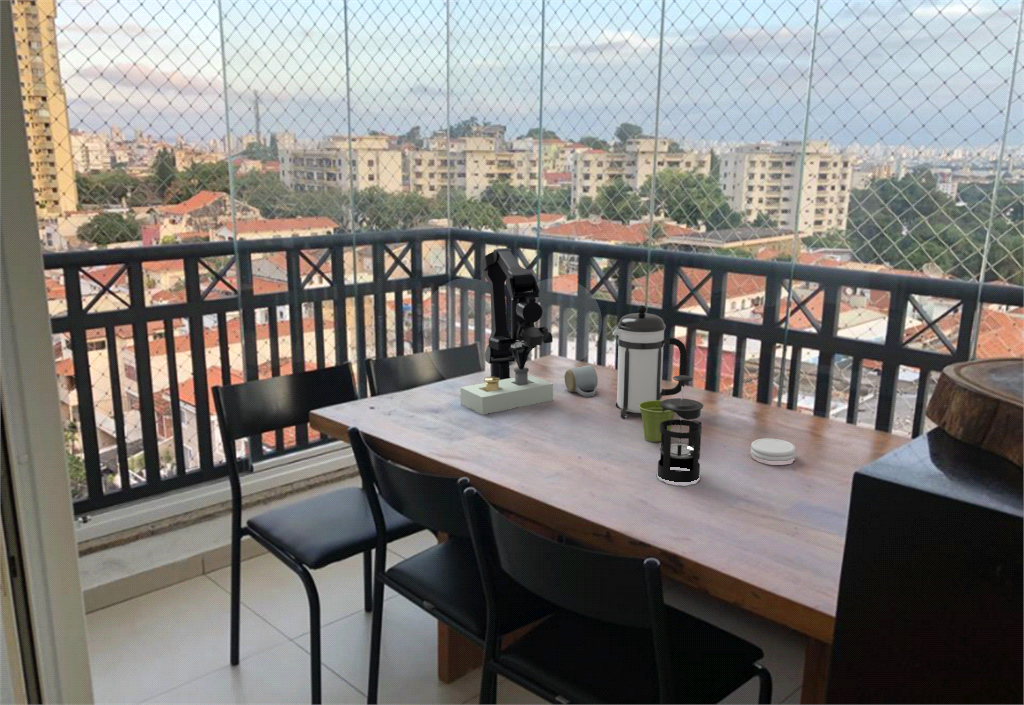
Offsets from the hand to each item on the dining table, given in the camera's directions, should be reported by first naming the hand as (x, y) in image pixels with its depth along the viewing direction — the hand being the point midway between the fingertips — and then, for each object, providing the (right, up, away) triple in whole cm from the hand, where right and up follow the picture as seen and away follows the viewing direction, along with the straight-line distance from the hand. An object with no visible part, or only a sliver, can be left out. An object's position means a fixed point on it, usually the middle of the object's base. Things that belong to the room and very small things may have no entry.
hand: (521, 368), depth 229 cm
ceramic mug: (+19, -7, +9) cm, 22 cm away
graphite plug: (0, -7, +2) cm, 8 cm away
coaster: (+58, -20, -44) cm, 76 cm away
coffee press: (+34, -12, -10) cm, 37 cm away
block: (-4, -10, -1) cm, 10 cm away
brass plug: (-8, -10, -3) cm, 13 cm away
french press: (+34, -23, -55) cm, 69 cm away
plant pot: (+33, -17, -31) cm, 49 cm away
